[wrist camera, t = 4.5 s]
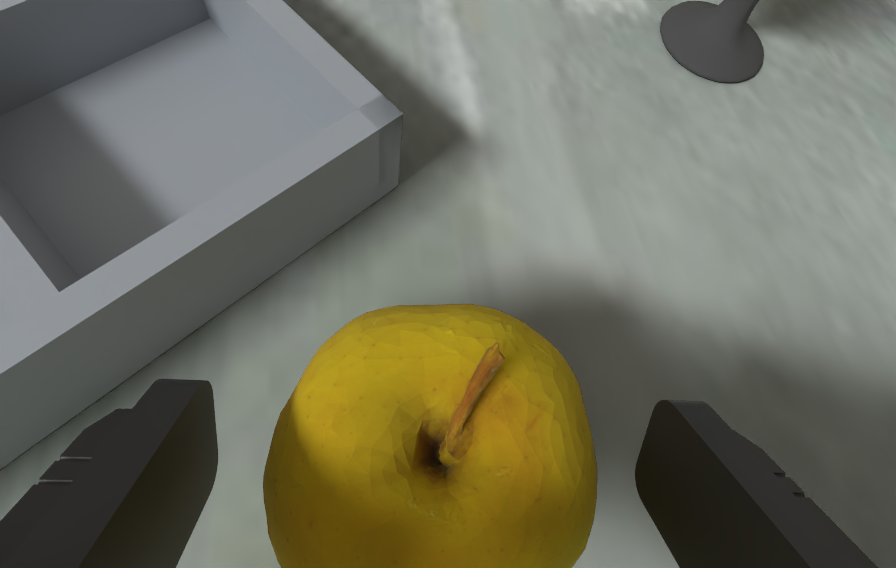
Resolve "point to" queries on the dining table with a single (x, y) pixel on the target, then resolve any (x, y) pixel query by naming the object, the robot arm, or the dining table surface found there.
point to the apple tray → (161, 181)
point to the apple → (432, 448)
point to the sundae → (714, 39)
